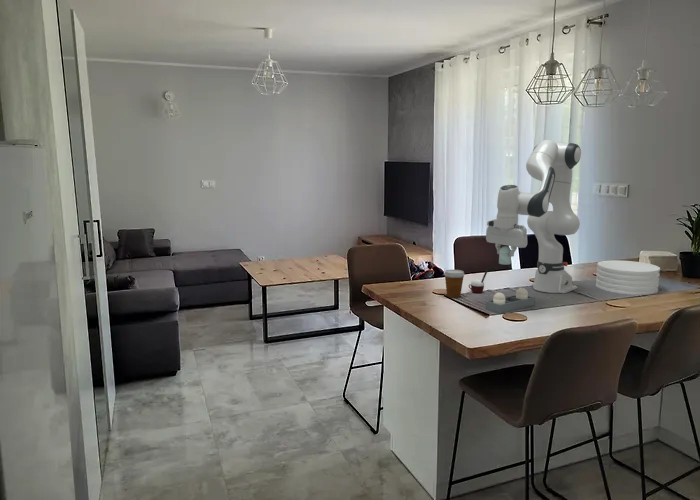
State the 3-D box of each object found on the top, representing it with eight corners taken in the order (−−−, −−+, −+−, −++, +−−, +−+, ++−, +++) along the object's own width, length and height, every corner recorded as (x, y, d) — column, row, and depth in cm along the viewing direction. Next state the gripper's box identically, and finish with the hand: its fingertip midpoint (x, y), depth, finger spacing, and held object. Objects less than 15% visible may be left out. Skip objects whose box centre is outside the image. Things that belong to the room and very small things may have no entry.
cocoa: (466, 291, 266) (466, 268, 264) (476, 289, 269) (475, 266, 267) (480, 295, 258) (479, 270, 256) (490, 293, 261) (489, 268, 259)
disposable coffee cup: (448, 299, 250) (449, 274, 248) (440, 294, 260) (440, 270, 257) (467, 297, 253) (468, 272, 251) (458, 293, 262) (458, 268, 260)
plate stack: (643, 282, 284) (645, 260, 282) (668, 295, 257) (671, 272, 255) (588, 281, 287) (589, 259, 285) (607, 294, 260) (609, 271, 258)
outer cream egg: (498, 307, 233) (499, 290, 232) (507, 310, 229) (508, 293, 228) (490, 309, 231) (491, 292, 229) (499, 312, 226) (500, 294, 225)
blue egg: (504, 262, 237) (505, 245, 236) (513, 263, 233) (514, 246, 232) (496, 263, 234) (497, 246, 233) (505, 265, 230) (506, 247, 229)
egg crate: (519, 303, 243) (520, 293, 242) (534, 307, 237) (534, 297, 236) (485, 311, 231) (485, 301, 230) (499, 315, 225) (500, 305, 224)
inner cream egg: (520, 302, 241) (521, 286, 240) (529, 305, 237) (530, 288, 236) (512, 304, 238) (513, 287, 237) (522, 306, 234) (523, 289, 233)
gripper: (531, 225, 224) (529, 258, 226) (494, 220, 241) (492, 251, 243) (521, 226, 220) (519, 259, 223) (484, 221, 237) (482, 252, 240)
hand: (505, 255), depth 233 cm, fingers closed on blue egg, 5 cm apart
